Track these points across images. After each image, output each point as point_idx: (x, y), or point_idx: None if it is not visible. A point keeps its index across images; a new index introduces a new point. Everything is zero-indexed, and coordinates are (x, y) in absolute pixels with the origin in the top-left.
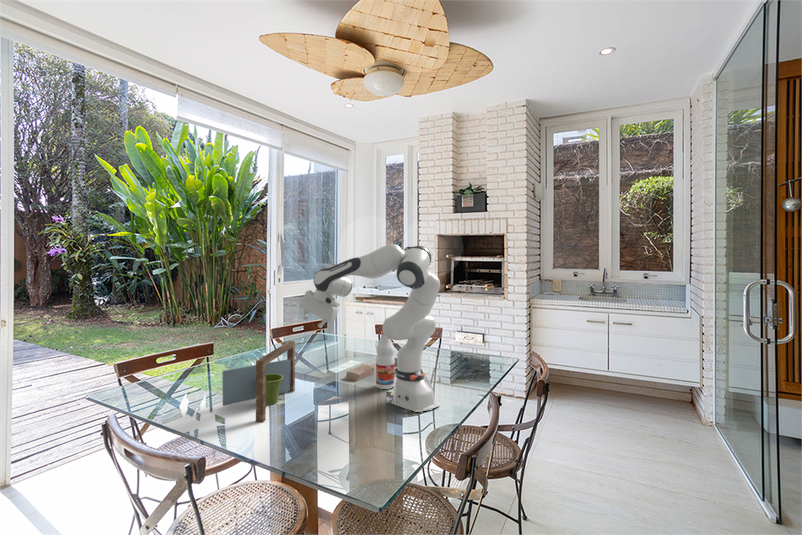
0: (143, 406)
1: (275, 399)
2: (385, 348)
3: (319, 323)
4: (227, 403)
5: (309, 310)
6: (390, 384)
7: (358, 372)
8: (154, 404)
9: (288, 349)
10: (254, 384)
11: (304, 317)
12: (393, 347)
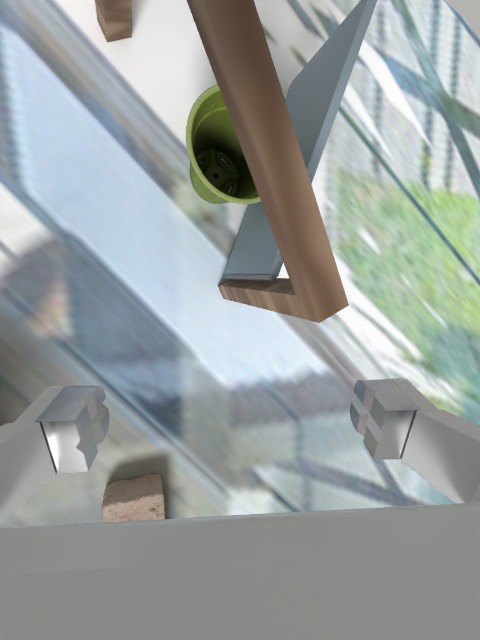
0: (442, 33)
1: (190, 170)
2: None
3: (60, 425)
4: (290, 90)
5: (466, 533)
6: None
7: (115, 518)
8: (433, 53)
9: (267, 215)
10: None
11: (399, 393)
12: None
